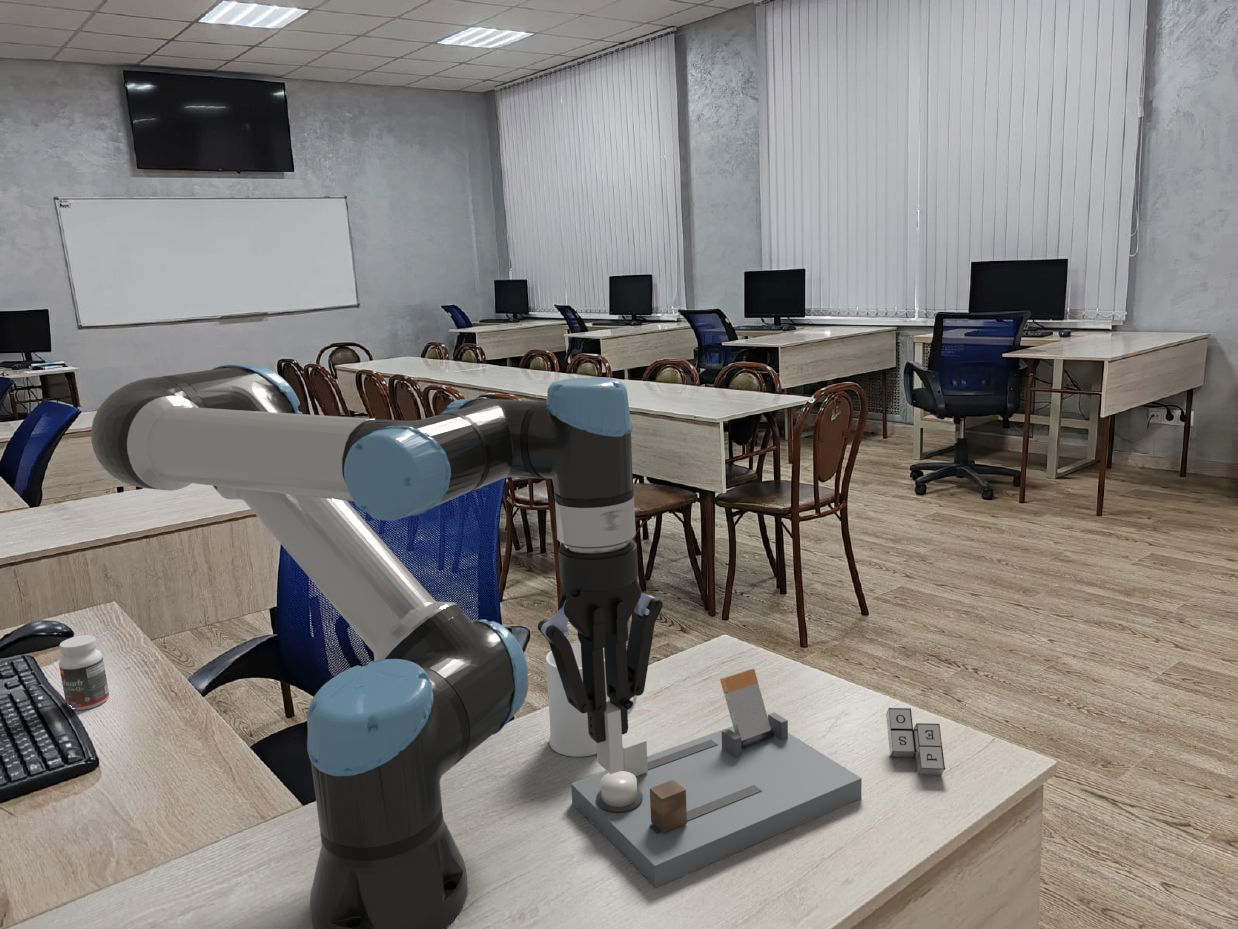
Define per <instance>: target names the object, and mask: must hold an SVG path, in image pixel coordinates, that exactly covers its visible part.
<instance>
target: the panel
mask: <svg viewBox="0 0 1238 929" xmlns="http://www.w3.org/2000/svg"><path fill="white" fill-rule="evenodd" d="M767 717H768V720H769V724H770V727H771V728H772V730H773V731H774V737H772V738H769V739H766V740H764V741H761V742H758V743H755V744H753V745H750V746H747V747H745V748H741V737H740V736H739V735H737V734H736V733H735V731H734V728H733V725H732V726H730V727H729V726H728V727H727V728H724V729H722V730H718V731H716V732H713V733H710V734H707V735H703V736H702V737H698V738H695V739H692V740H690V741H687V742H684V743H681V744H678V745H676V746H673V747H670V748H667V749H665V750H661V751H659V752H656V753H653V754H651V755H647V765H648V772H646V773H644V774H641V775H638V776H635V777H636V779H637V799H636V801H635V802H633V803H632V804H630V805H628V806H623V807H613V806H609V805H607V804H605V803H604V802H603V801H602V796H601V779H602V777H603V776H604V775H606V774H607V773H609V772H608V771H607V770H606V771H603V772H599V773H597V774H595V775H591V776H589V777H586V778H583V779H580V780H578V781H574V782H571V783H570V787H571V788H570V791H571V802H572V804H573V806H575V808H576V809H577V810H578V811H580V813H582V814H583V815H584V817H586V818H587V820H588V821H589V822H590V823H591V824H592V825H593V826H595V828H596V829H597V830H598V831H599V832H600V833H601V834H602V835H603V836H604V837H605V838H606V839H607V840H608V841H609V842H610V843H611V844H612V845H613V846H614V847H615V848H616V849H617V850H618V851H619V852H620V854H621V855H622V856H624V858H626V859H627V860H628V861H629V862H630V863H631V864H632V865H633V867H635V868H636V870H637V871H638V872H639V873H640V874H641V875H643V877H644V878H646V879H647V881H648V882H650V883H651V885H652V886H653V887H654V888H658V887H660V886H663V885H665V884H667V883H670V882H671V881H672V882H673V881H675V880H677V879H678V878H681V877H683V876H686V875H688V874H690V873H692V872H695V871H697V870H699V869H702V868H704V867H706V866H708V865H711V864H713V863H715V862H718V861H720V860H722V859H725V858H727V857H729V856H732V855H734V854H736V853H739V852H740V851H741V852H742V851H743V850H745V849H748V848H749V847H752V846H754V845H757V844H759V843H761V842H763V841H766V840H768V839H770V838H773V837H775V836H778V835H780V834H783V833H784V832H787V831H788V830H790V829H791V830H792V829H793V828H796V827H798V826H801V825H803V824H805V823H808V822H809V821H811V820H814V819H816V818H819V817H822V816H823V815H825V814H828V813H830V812H832V811H834V810H837V809H839V808H841V807H843V806H845V805H848V804H850V803H852V802H855V801H858V800H859V799H861V798H862V785H863V784H862V783H863V782H862V779H863V778H862V776H859V775H857V774H855V772H852V771H851V770H849V769H848V768H846V767H844V766H843V765H841V764H840V763H838V762H836V761H835V760H833V759H832V758H830V757H829V756H826V755H825V754H823V753H822V752H820V751H818V750H817V749H816V748H814V747H812V746H810V745H809V744H808V743H805V742H804V741H803V740H801V739H800V738H797V736H794V735H793V734H791V733H790V732H789V731H788V730H789V720H788V719H786V718H785V717H783V716H782V715H779V714H778V713H776V712H773V711H772V712H770V713H767ZM671 780H674V781H676V782H677V783H678V784H679V785H681V786H682V787H683V788H684V789H685V790H686V808H687V824H685V825H683V826H680V827H678V828H675V829H673V830H670V831H668V832H665V833H662V832H661V831H660V830H659V829H658V828H657V827H656V826H655V825H654V824H653V823H651V808H650V788H652V787H655V786H657V785H660V784H663V783H665V782H668V781H671Z"/></svg>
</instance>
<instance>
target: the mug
mask: <svg viewBox="0 0 1238 929" xmlns="http://www.w3.org/2000/svg"><path fill="white" fill-rule="evenodd" d="M570 644H571V647H572V649H573V653H574V656H575V659H576V662H577V665H578V668H579V671H580V675H581V678H582V681H583V675H582V659H581V644H580V642H579V643H570ZM603 652H604V648H603ZM545 667H546V668H545V669H546V682H547V683H546V684H547V695H548V696H547V698H548V699H547V700H548V713H549V715H548V716H549V724H550V725H549V731H550V732H549V733H550V734H549V739H548V740H549V746H550V748H551V750H553V751H555V752H556V753H557V754H561V755H563V756H567V757H573V758H582V757H583V758H584V757H585V758H586V757H590V756H594V755H597V743H596V742H595V741H594V740H593V739H592V738H591V737H590V735H589V732H588V729H589V728H588V716H587V713H581V712H579V711H578V710H577V709H576V708H575V707H573V706H572V705H571V704H570V703H569V702H568V700H567V697H566V694H565V691H564V687H563V684H562V681H561V678H560V675H559V672H558V669H557V666H556V663H555V660H554V657H553V654H552V651H551V650H550V651H549V652H548V653H547V654H546V657H545ZM604 670H605V657H604ZM605 687H606V673H605ZM606 700H608V701H610V700H609V697H608V696H607V689H606ZM631 701H632V702H633V706H632V707H631V708H630V709H629V710H627V712H628V716H629V715H630V714H631V712H633V710H634V708H635V706H636V704H637V701H638V696H636V695H635V696H634V697H632V700H631Z"/></svg>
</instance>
